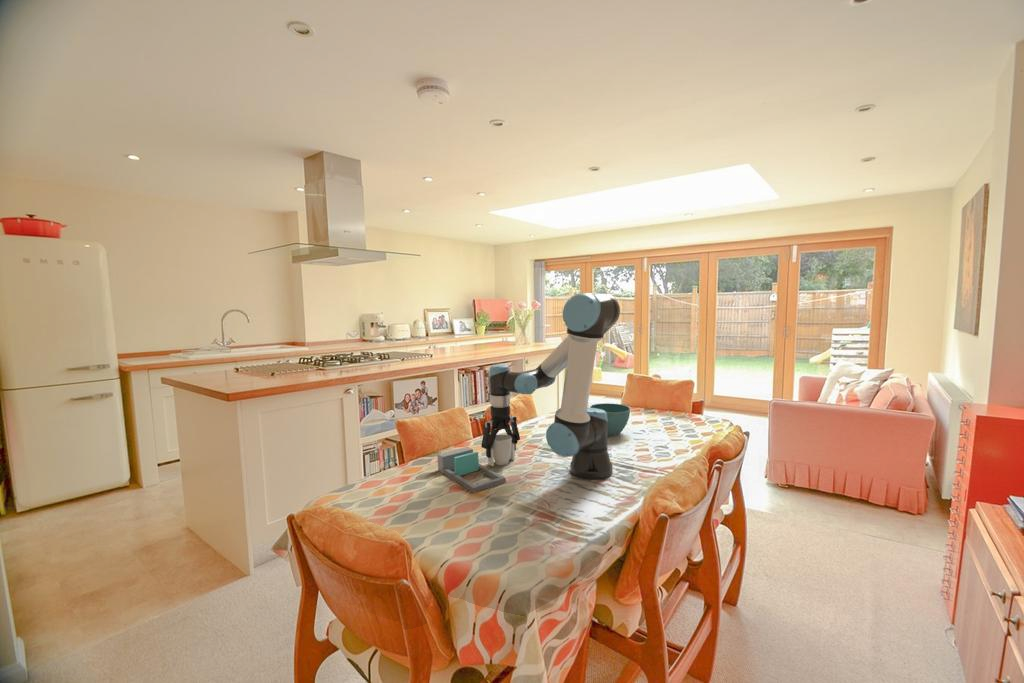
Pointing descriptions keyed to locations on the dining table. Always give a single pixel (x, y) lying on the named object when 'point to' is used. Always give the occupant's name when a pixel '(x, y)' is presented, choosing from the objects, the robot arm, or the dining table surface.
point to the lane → (448, 465)
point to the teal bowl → (614, 417)
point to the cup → (502, 449)
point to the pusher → (466, 463)
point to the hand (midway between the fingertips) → (501, 462)
